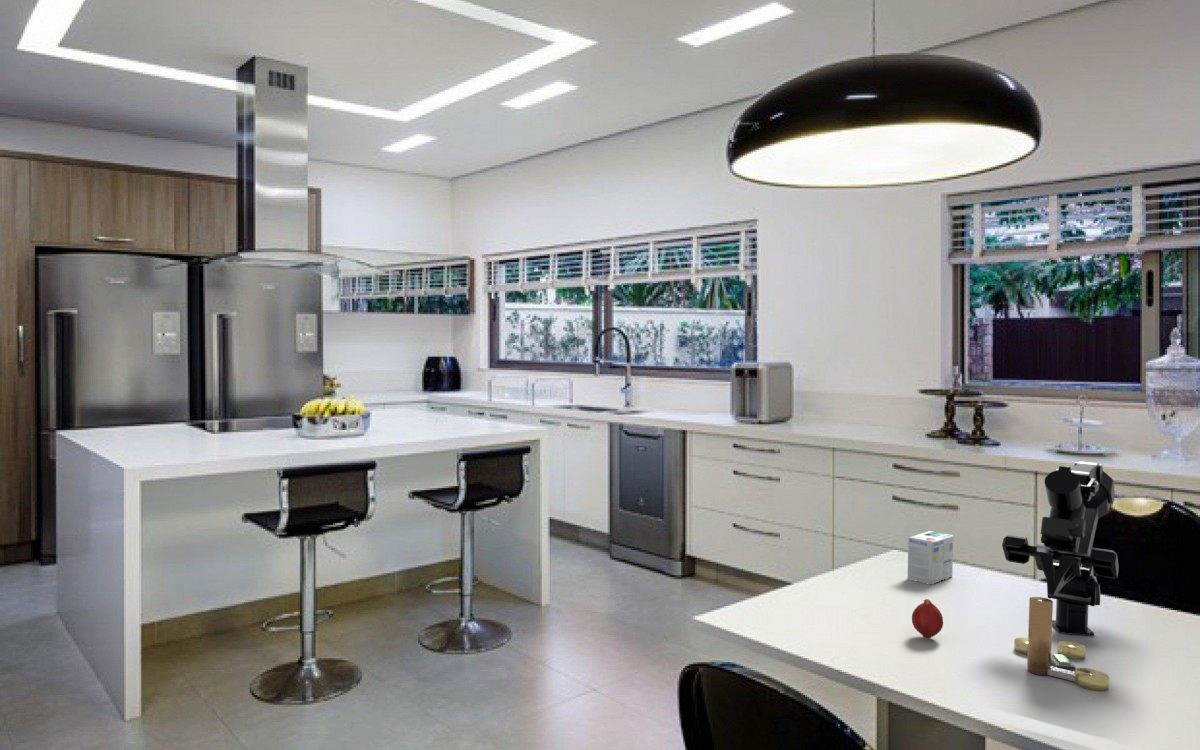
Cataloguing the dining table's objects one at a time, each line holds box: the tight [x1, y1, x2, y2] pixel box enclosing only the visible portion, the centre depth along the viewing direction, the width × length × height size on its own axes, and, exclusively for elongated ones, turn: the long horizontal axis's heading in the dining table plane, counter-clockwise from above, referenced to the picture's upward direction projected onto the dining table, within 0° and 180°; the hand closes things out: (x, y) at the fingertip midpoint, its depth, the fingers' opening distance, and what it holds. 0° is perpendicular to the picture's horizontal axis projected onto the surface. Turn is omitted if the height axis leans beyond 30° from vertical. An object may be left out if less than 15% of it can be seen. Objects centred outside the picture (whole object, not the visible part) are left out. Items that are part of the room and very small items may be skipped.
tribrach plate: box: [1013, 637, 1086, 672], centre depth 145 cm, size 20×20×3 cm
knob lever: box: [1026, 596, 1110, 692], centre depth 140 cm, size 12×5×13 cm, turn 51°
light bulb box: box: [907, 530, 955, 585], centre depth 202 cm, size 11×7×11 cm, turn 130°
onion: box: [911, 598, 944, 640], centre depth 162 cm, size 6×6×8 cm
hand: (1051, 595), depth 149 cm, fingers closed
